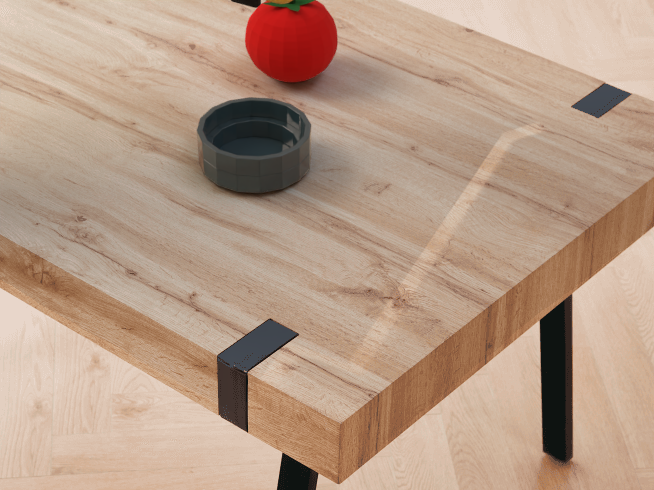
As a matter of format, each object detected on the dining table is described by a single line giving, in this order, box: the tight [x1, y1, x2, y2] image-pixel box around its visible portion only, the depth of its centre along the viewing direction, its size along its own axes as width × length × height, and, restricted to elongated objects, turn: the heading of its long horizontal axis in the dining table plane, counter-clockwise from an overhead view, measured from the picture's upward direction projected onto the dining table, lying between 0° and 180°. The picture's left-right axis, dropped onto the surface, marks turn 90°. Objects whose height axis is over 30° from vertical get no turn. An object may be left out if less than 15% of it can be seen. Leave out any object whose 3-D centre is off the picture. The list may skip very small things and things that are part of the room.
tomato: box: [244, 0, 338, 83], centre depth 120 cm, size 10×10×10 cm
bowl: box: [196, 96, 312, 194], centre depth 109 cm, size 11×11×4 cm
